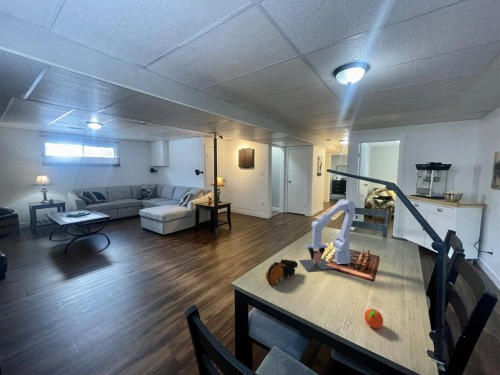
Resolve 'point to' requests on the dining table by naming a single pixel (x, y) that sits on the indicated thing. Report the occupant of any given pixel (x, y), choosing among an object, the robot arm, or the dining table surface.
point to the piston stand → (315, 265)
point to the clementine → (373, 318)
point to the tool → (280, 270)
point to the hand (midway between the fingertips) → (316, 258)
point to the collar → (317, 256)
